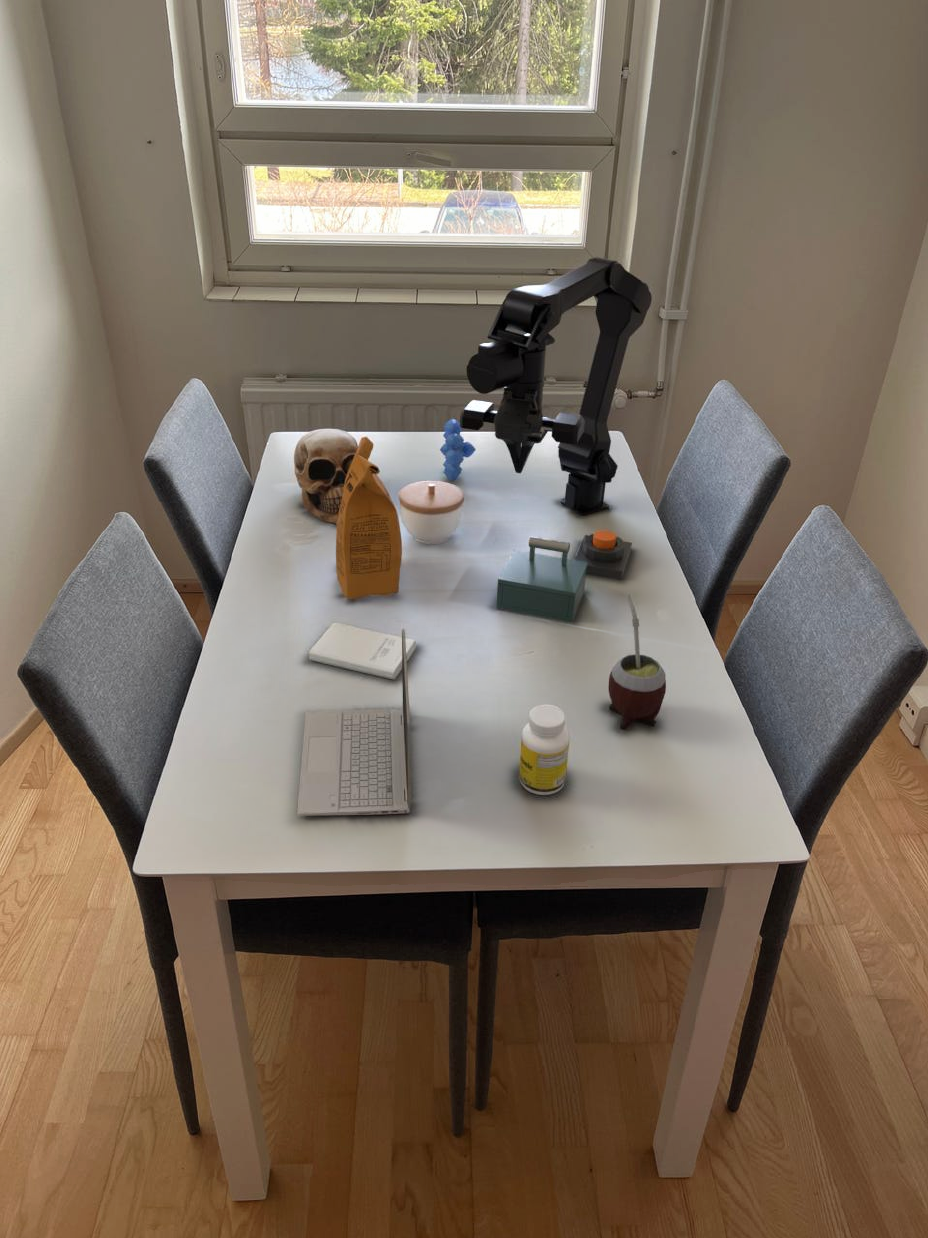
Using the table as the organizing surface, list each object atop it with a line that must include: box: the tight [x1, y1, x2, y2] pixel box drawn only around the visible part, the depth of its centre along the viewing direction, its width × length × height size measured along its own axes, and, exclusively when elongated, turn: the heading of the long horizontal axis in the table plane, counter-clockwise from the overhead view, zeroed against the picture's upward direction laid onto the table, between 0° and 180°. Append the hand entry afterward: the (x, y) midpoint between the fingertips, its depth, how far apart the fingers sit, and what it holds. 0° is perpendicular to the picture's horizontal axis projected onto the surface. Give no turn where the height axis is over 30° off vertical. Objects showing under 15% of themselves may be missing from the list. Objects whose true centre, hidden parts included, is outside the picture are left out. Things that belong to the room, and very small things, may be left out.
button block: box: [573, 533, 633, 581], centre depth 152 cm, size 10×8×4 cm
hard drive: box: [308, 622, 417, 680], centre depth 129 cm, size 2×8×12 cm
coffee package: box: [335, 436, 403, 600], centre depth 140 cm, size 10×12×22 cm
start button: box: [593, 529, 617, 549], centre depth 151 cm, size 4×4×2 cm
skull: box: [293, 428, 359, 525], centre depth 167 cm, size 16×17×13 cm
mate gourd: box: [607, 593, 667, 731], centre depth 116 cm, size 8×8×15 cm
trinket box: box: [398, 480, 465, 545], centre depth 157 cm, size 11×11×9 cm
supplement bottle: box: [518, 704, 570, 796], centre depth 107 cm, size 5×5×10 cm
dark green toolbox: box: [496, 571, 587, 623], centre depth 142 cm, size 9×12×4 cm
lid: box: [497, 536, 588, 597], centre depth 139 cm, size 9×12×4 cm
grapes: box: [439, 418, 477, 481], centre depth 175 cm, size 12×7×12 cm, turn 3°
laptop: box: [296, 628, 412, 817], centre depth 108 cm, size 18×12×13 cm
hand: (519, 472), depth 151 cm, fingers closed
